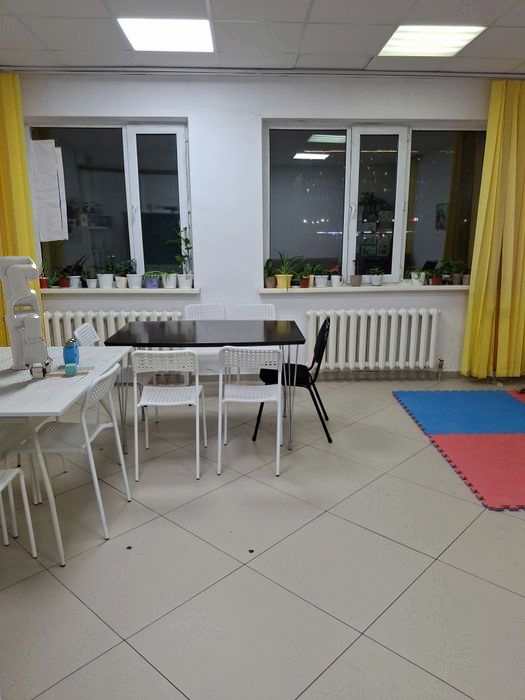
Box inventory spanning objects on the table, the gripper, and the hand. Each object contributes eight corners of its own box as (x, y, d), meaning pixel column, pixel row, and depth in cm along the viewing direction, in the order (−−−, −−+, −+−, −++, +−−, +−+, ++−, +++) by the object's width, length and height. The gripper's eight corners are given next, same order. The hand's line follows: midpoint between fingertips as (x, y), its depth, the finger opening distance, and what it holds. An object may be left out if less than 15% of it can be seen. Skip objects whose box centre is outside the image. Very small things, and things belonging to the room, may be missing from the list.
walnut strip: (35, 376, 237) (33, 365, 236) (89, 373, 243) (88, 362, 242) (32, 380, 230) (30, 369, 229) (87, 376, 237) (86, 365, 235)
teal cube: (67, 373, 239) (66, 363, 238) (77, 372, 241) (76, 363, 240) (65, 375, 235) (64, 366, 234) (76, 375, 236) (75, 365, 235)
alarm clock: (69, 363, 264) (66, 337, 261) (80, 362, 265) (78, 336, 262) (64, 369, 252) (61, 342, 248) (76, 368, 253) (73, 341, 250)
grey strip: (44, 371, 247) (42, 360, 246) (95, 368, 253) (94, 357, 252) (41, 374, 240) (40, 363, 239) (94, 371, 247) (93, 360, 245)
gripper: (54, 337, 235) (58, 372, 239) (17, 339, 231) (22, 375, 235) (51, 340, 228) (55, 376, 232) (14, 342, 224) (18, 379, 228)
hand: (38, 375), depth 234 cm, fingers closed on walnut strip, 4 cm apart
